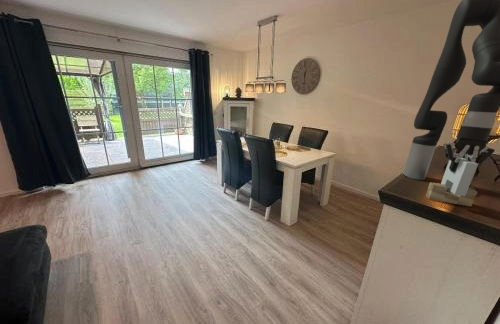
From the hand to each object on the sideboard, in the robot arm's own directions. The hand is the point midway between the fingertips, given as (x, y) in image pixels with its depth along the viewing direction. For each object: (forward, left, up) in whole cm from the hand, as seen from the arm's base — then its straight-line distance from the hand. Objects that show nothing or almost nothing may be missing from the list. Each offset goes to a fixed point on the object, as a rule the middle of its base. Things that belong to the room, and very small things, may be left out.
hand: (458, 172), depth 75 cm
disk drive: (-15, +9, -13) cm, 22 cm away
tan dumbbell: (0, 0, -12) cm, 12 cm away
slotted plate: (0, 0, -7) cm, 7 cm away
